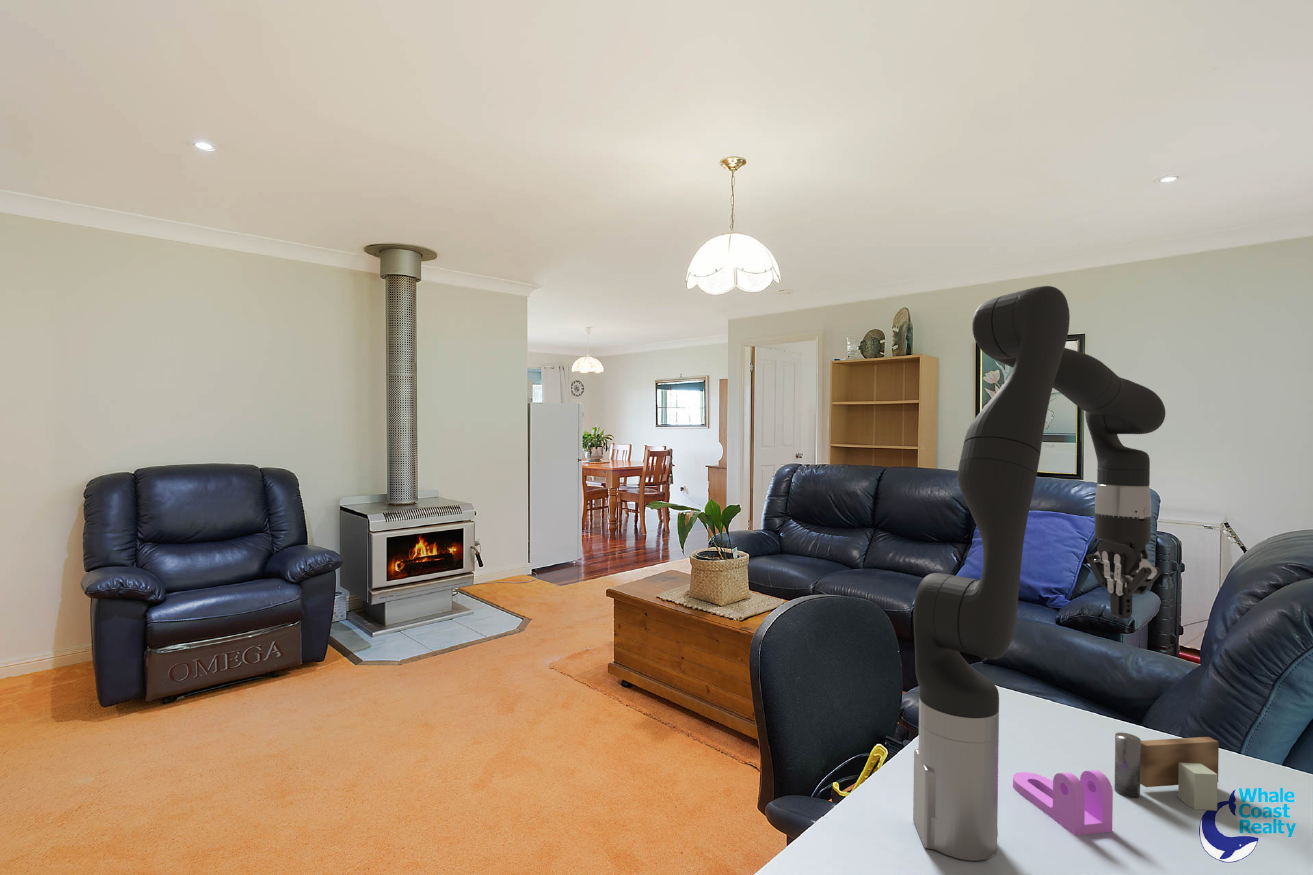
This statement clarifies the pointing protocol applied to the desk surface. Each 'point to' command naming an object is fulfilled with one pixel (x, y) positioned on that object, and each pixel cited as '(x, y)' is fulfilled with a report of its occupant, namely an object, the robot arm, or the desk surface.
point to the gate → (1175, 758)
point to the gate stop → (1197, 786)
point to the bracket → (1071, 799)
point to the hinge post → (1127, 764)
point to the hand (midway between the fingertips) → (1121, 617)
